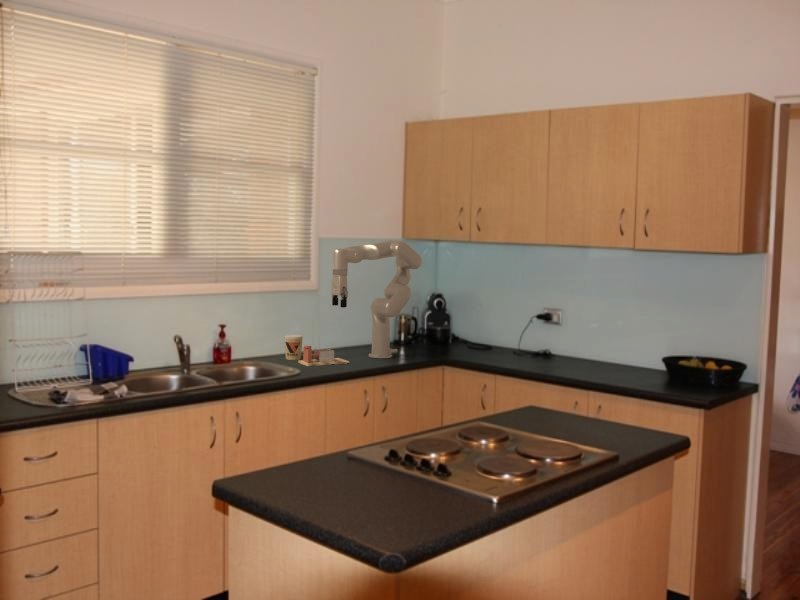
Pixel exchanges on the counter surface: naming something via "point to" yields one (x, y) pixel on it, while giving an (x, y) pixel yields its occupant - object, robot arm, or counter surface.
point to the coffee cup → (293, 347)
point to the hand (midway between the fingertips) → (339, 306)
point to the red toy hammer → (308, 354)
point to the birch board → (315, 363)
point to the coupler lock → (324, 355)
